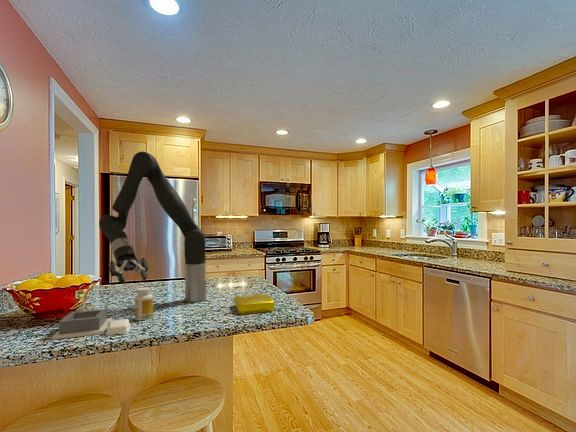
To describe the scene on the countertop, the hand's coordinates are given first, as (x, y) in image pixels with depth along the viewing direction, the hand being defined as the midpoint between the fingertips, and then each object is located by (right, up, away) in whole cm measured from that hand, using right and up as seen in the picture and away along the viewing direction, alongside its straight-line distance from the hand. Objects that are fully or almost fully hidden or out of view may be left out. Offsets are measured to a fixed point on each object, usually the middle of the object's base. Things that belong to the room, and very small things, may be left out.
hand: (134, 280), depth 121 cm
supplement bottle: (+7, -13, -6) cm, 16 cm away
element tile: (+48, -14, +7) cm, 50 cm away
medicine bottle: (-30, -14, +7) cm, 34 cm away
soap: (+4, -13, -18) cm, 23 cm away
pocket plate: (-8, -13, -18) cm, 23 cm away
